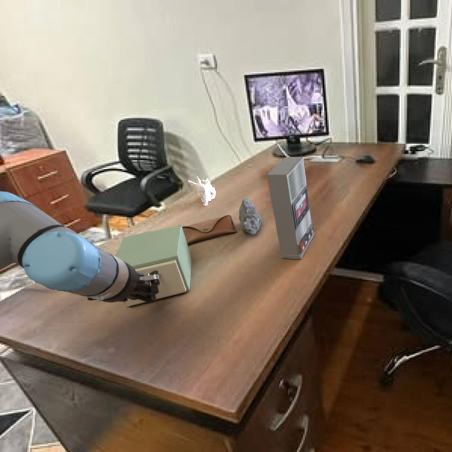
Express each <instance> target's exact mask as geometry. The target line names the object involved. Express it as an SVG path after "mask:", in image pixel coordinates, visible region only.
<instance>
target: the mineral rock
mask: <svg viewBox="0 0 452 452" xmlns="http://www.w3.org/2000/svg"><path fill="white" fill-rule="evenodd" d="M238 220H239V222H240V230H241V231H242V232H244V233H247V234H249V235H251V236H253V235H255V234H257V233H258V232H259V231H260V228H261V226H262V217H261V215H260V214H259V213H258V212H257V209H256V206H255V205H254V202H253V201H252V199H250V197H244V198H243V199H242V200H241V203H240V205H239V209H238Z"/></svg>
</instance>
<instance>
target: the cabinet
mask: <svg viewBox="0 0 452 452" xmlns="http://www.w3.org/2000/svg"><path fill="white" fill-rule="evenodd" d="M182 227H183V226H182V225H181V224H179V225H175V226H169V227H165V228H161V229H155V230H151V231H145V232H142V233H135V234H132V235H126V236H123V237H122V240H121V242H120V244H119V247H118V249H117V252H116V254H115V256H116V257H118V258H119V259H121V260H123V261H125V262H126V263H128V264H130V265H131V266H132V267H133V268H134V269H135V268H140V267H144V266H149V265H153V264H157V263H162V262H166V261H170V260H176V262H177V265H178V267H179V270H180V273H181V276H182V278H183V281H184V284H185V287H186V292H182V293H178V294H174V295H170V296H166V297H162V298H158V299H157V300H159V299H164V298H167V297H171V296H175V295H179V294H184V293H187V292H188V293H189V292H190V291H191V277H192V275H191V274H192V261H193V259H192V258H193V257H192V253H191V251H190V248H189V247H190V246H189V245H188V244H187V241H186V238H185V235H184V232H183V229H182ZM123 303H124V305H125V307H126V308H127V307H129V306H126V304H125V302H123ZM140 304H145V302H142V303H138V304H134V305H131V306H130V307H133V306H135V305H136V306H137V305H140Z"/></svg>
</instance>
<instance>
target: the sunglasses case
mask: <svg viewBox="0 0 452 452" xmlns="http://www.w3.org/2000/svg"><path fill="white" fill-rule="evenodd" d="M182 229H183V232H184V235H185V238H186V241H187V244H188V246H190V245H194V244H197V243H202V242H206V241H209V240H213V239H218V238H221V237H224V236H228V235H230V234H234V233H236V232H237V228H236V226H235V223H234V220H233V218H232V216H231V214H227V215H223V216H221V217H217V218H213V219H208V220H204V221H200V222H196V223H193V224H189V225H184V226H182Z"/></svg>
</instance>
